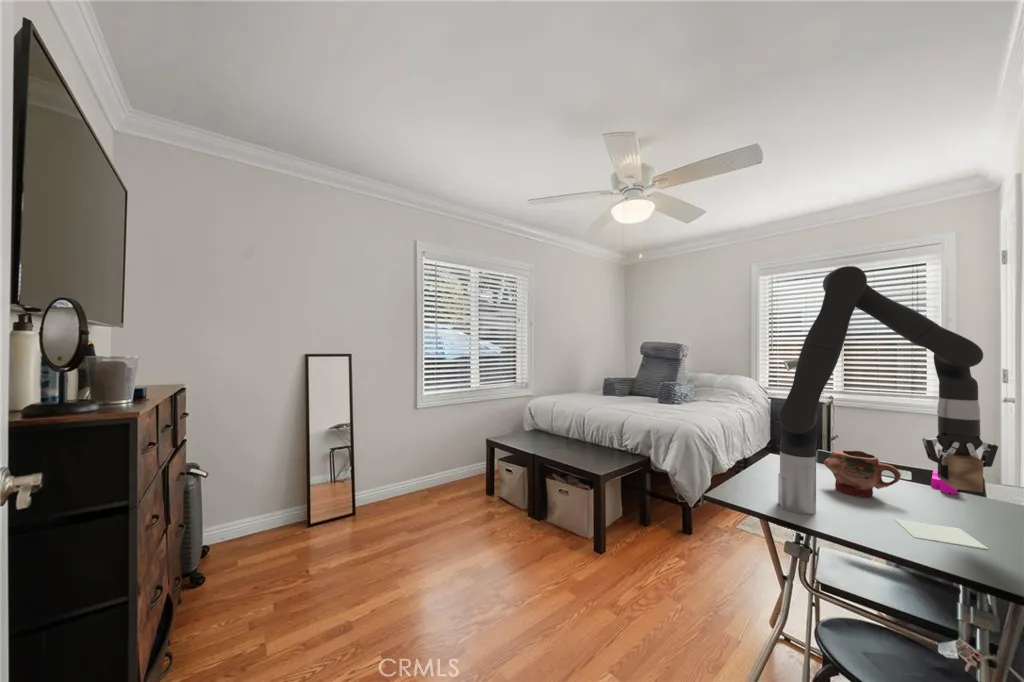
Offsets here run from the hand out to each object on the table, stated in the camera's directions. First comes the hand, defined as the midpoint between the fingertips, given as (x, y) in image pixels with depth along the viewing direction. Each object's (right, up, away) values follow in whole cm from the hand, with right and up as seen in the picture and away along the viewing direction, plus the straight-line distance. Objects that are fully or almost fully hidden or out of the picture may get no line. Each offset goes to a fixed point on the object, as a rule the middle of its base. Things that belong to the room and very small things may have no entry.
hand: (959, 479), depth 106 cm
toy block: (+37, -16, +37) cm, 55 cm away
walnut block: (0, -1, 0) cm, 1 cm away
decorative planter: (+1, -16, +31) cm, 35 cm away
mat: (-3, -16, +3) cm, 16 cm away
